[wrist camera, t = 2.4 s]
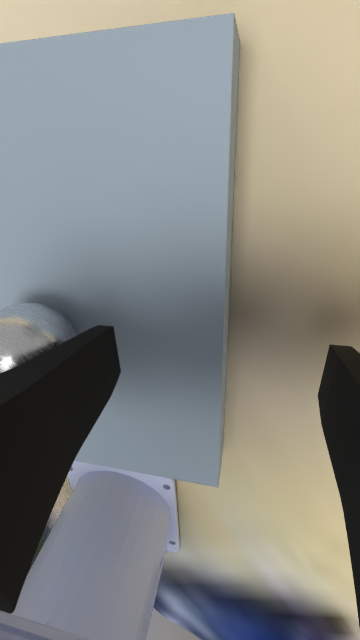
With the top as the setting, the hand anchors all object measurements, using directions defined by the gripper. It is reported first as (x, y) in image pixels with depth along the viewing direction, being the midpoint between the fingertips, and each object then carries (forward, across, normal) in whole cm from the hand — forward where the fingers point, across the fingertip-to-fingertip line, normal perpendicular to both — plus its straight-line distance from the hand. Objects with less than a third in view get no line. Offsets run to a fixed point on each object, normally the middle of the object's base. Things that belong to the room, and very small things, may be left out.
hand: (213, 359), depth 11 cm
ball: (-1, +7, 0) cm, 7 cm away
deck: (+4, +13, 0) cm, 13 cm away
